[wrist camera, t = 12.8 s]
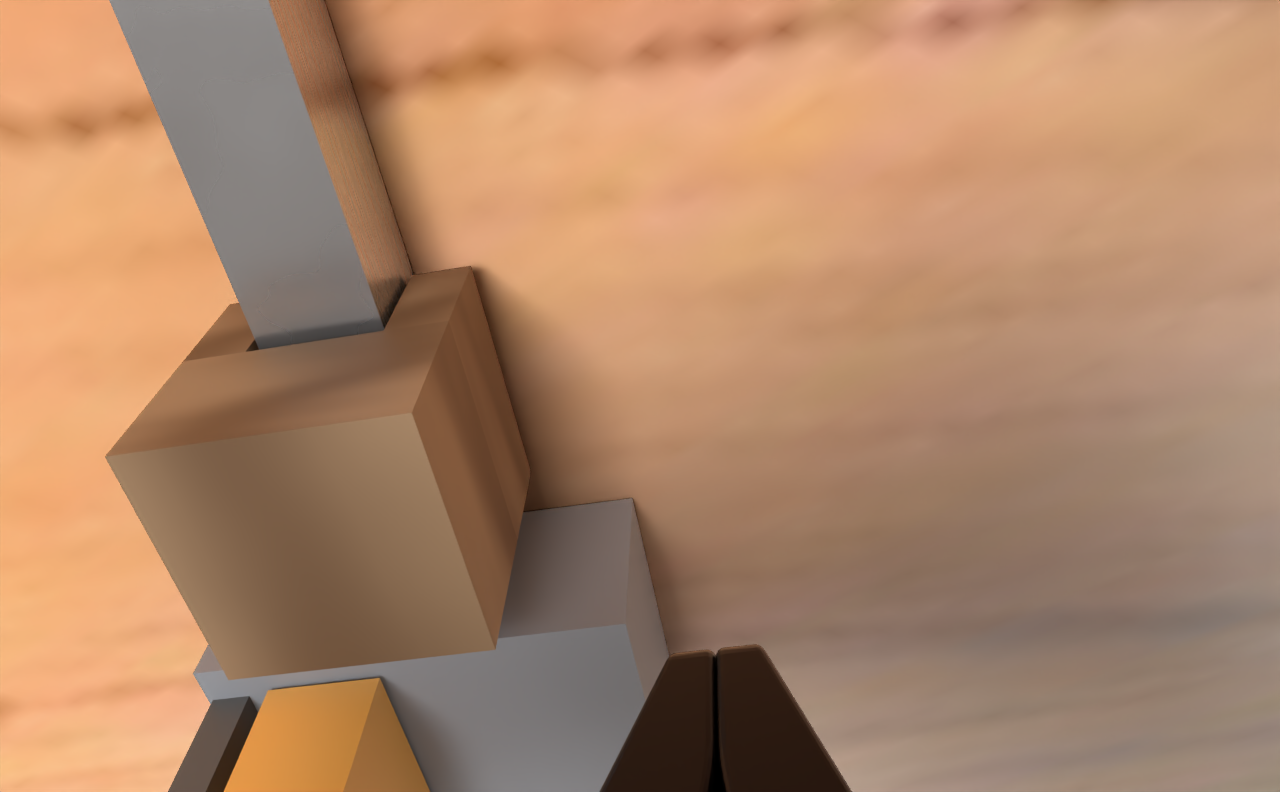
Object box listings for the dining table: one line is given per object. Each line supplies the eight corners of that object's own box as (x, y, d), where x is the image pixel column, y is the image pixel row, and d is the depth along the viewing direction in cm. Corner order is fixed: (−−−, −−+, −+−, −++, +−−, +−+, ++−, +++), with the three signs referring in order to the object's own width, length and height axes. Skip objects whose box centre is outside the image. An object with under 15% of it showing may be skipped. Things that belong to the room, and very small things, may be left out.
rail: (253, -219, 16) (191, -217, 14) (490, 509, 24) (472, 580, 21) (111, -188, 16) (31, -181, 14) (390, 522, 24) (363, 593, 22)
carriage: (470, 265, 20) (411, 412, 15) (531, 472, 22) (495, 649, 18) (230, 304, 20) (104, 456, 16) (315, 501, 23) (228, 679, 19)
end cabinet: (632, 498, 23) (620, 722, 18) (670, 659, 26) (669, 897, 20) (260, 546, 24) (141, 772, 19) (333, 697, 27) (247, 933, 22)
